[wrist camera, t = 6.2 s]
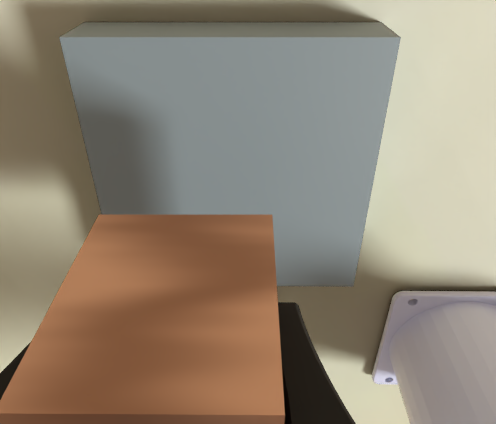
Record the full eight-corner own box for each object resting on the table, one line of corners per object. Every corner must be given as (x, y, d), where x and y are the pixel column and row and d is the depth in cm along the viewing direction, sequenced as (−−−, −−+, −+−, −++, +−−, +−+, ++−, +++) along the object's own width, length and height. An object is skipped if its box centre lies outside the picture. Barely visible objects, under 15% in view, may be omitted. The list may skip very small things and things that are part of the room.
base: (381, 22, 16) (400, 37, 14) (344, 252, 22) (353, 286, 20) (84, 22, 16) (59, 36, 14) (131, 250, 22) (118, 285, 20)
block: (272, 214, 12) (284, 415, 7) (268, 330, 15) (276, 532, 10) (98, 214, 12) (-7, 412, 7) (127, 330, 15) (66, 530, 10)
